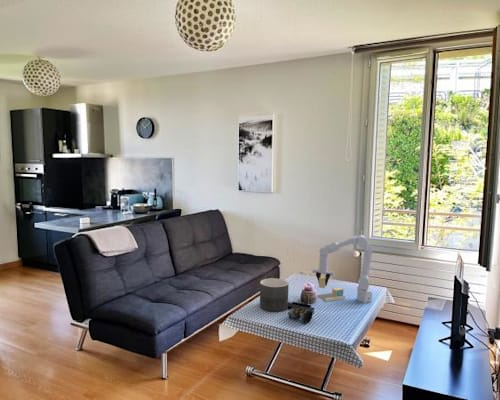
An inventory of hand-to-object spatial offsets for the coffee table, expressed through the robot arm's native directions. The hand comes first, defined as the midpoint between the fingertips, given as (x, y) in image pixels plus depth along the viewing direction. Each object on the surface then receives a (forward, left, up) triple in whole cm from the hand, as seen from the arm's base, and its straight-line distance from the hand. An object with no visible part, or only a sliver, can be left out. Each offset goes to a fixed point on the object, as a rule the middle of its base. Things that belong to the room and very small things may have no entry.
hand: (322, 284), depth 259 cm
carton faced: (-6, -8, -8) cm, 13 cm away
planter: (-1, +38, -10) cm, 39 cm away
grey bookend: (-3, -4, -10) cm, 11 cm away
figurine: (-25, +34, -10) cm, 43 cm away
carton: (0, 0, -2) cm, 2 cm away
